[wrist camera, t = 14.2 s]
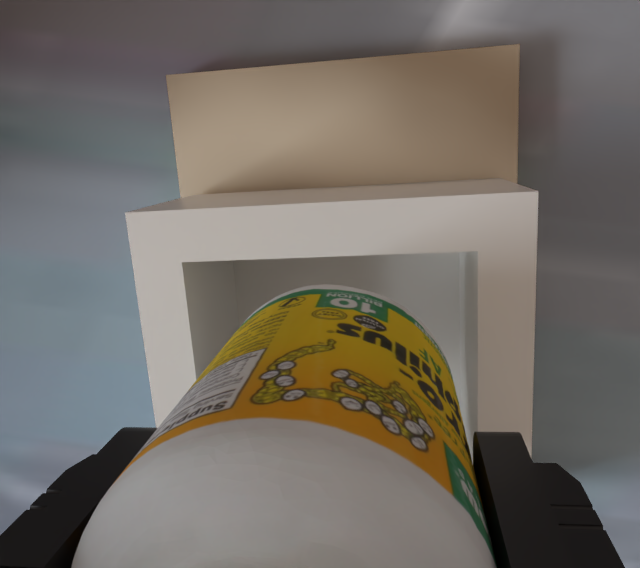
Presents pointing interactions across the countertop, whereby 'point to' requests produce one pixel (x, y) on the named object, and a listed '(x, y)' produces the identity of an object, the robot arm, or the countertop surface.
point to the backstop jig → (348, 122)
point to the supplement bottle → (305, 452)
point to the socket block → (349, 277)
